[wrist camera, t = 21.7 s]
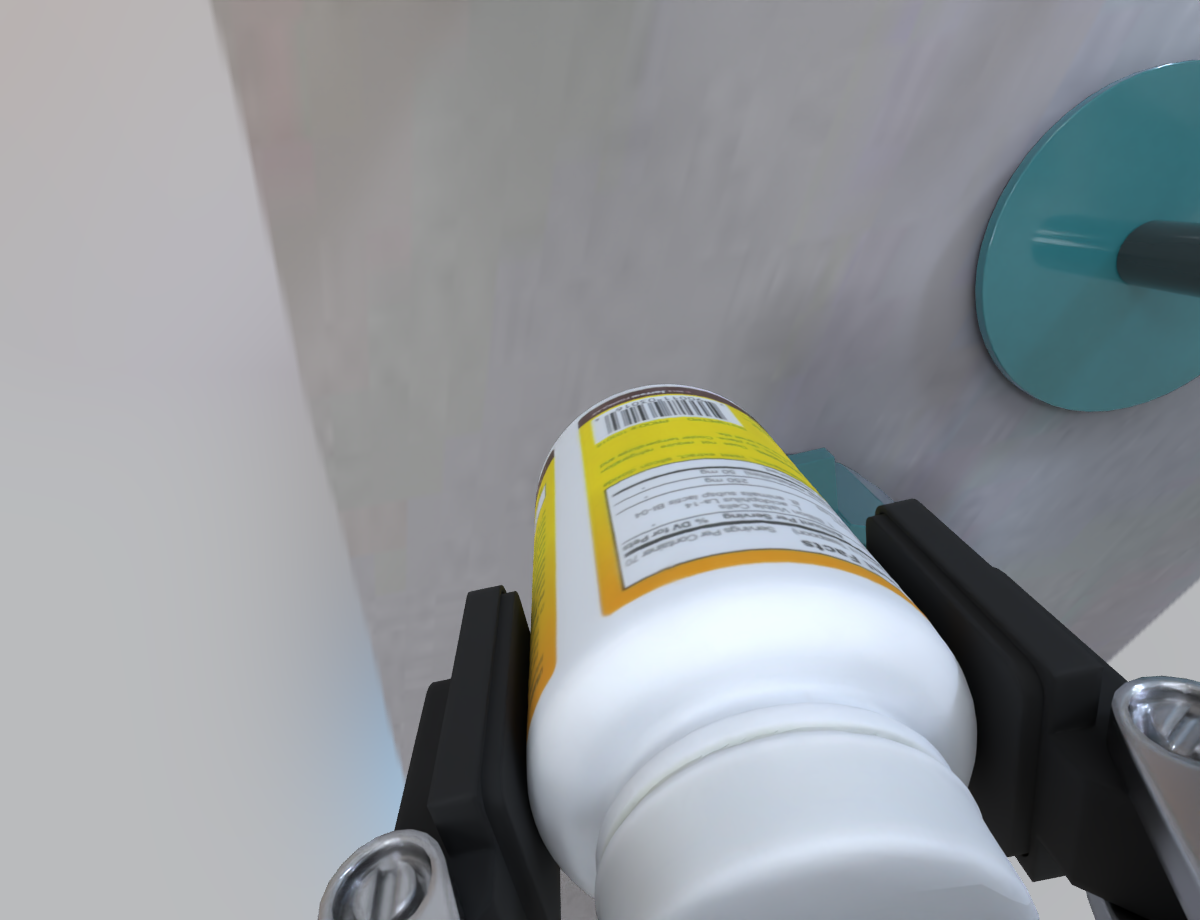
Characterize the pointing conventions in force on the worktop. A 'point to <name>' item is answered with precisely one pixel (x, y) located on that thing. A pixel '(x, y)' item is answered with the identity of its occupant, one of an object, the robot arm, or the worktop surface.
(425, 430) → the worktop surface
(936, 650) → the supplement bottle
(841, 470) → the pot
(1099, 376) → the lid
